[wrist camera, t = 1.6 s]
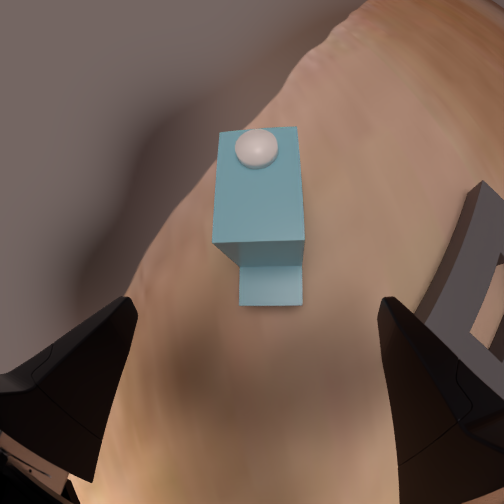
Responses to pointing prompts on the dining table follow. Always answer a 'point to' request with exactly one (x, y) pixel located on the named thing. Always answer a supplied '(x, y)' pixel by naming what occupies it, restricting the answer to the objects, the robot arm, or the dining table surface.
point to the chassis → (469, 285)
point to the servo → (261, 213)
